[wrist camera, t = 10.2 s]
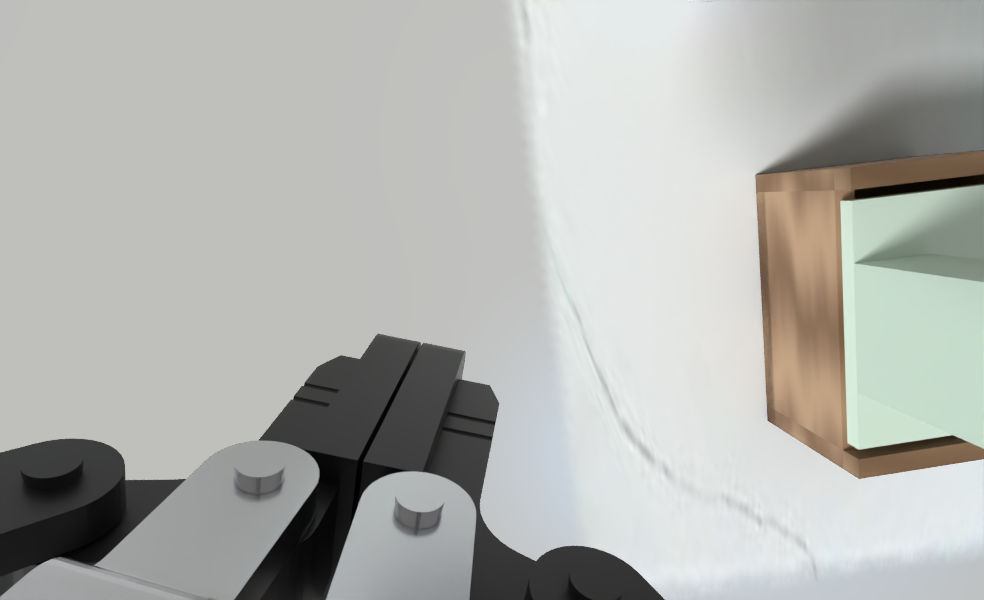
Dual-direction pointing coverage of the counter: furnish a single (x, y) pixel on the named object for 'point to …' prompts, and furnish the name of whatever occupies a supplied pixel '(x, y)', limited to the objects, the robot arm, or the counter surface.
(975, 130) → the counter surface
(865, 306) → the sage lid
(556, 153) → the counter surface
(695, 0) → the supplement bottle
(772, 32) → the counter surface
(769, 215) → the walnut box
